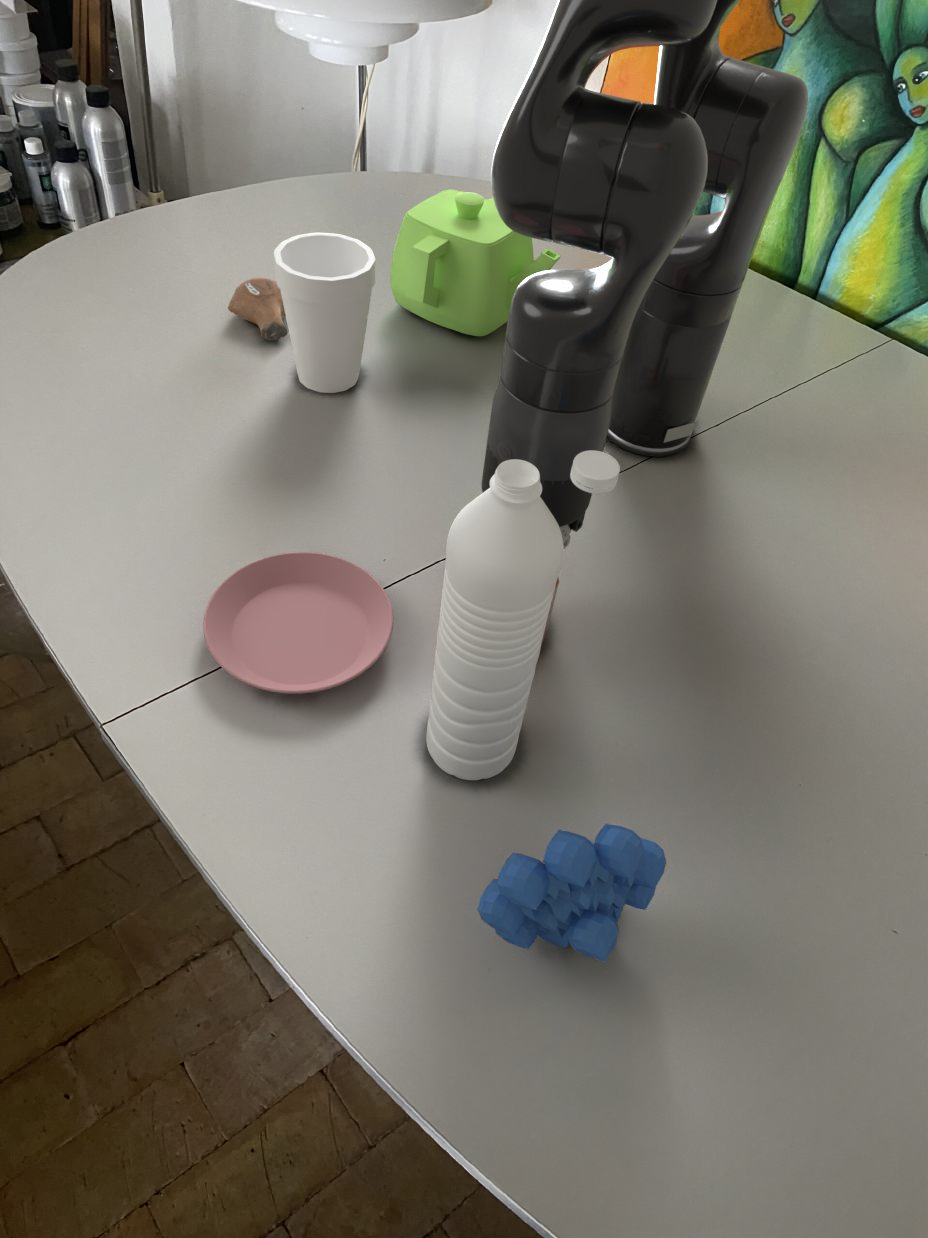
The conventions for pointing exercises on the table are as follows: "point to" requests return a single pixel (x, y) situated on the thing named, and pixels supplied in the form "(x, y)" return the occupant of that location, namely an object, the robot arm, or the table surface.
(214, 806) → the table surface
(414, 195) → the table surface
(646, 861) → the grapes
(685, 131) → the robot arm
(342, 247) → the foam cup
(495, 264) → the teapot
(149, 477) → the table surface
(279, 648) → the plate
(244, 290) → the oil lamp
